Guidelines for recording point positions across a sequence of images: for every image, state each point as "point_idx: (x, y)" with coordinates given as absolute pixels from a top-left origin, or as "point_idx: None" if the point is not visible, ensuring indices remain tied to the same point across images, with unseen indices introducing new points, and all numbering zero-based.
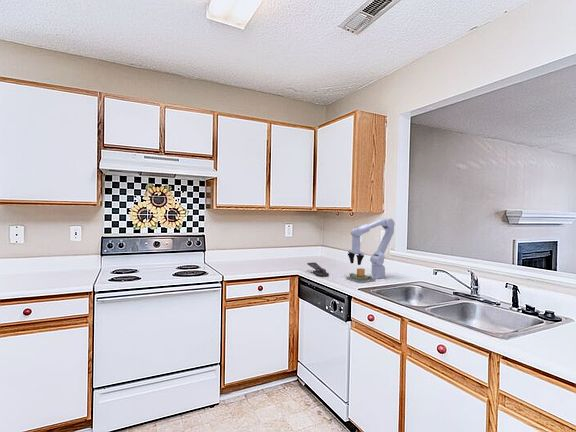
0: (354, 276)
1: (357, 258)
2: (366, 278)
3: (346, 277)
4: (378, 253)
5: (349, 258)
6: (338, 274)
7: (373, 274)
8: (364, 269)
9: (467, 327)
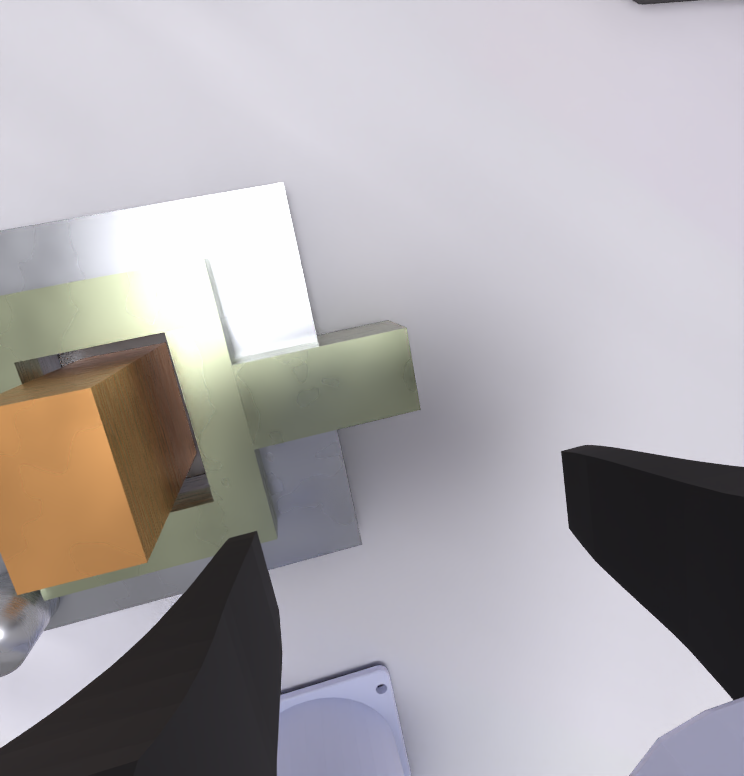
0: (103, 277)
1: (175, 667)
2: None
3: (280, 185)
4: None
5: (737, 466)
6: (672, 266)
7: (294, 740)
8: (18, 576)
9: None
